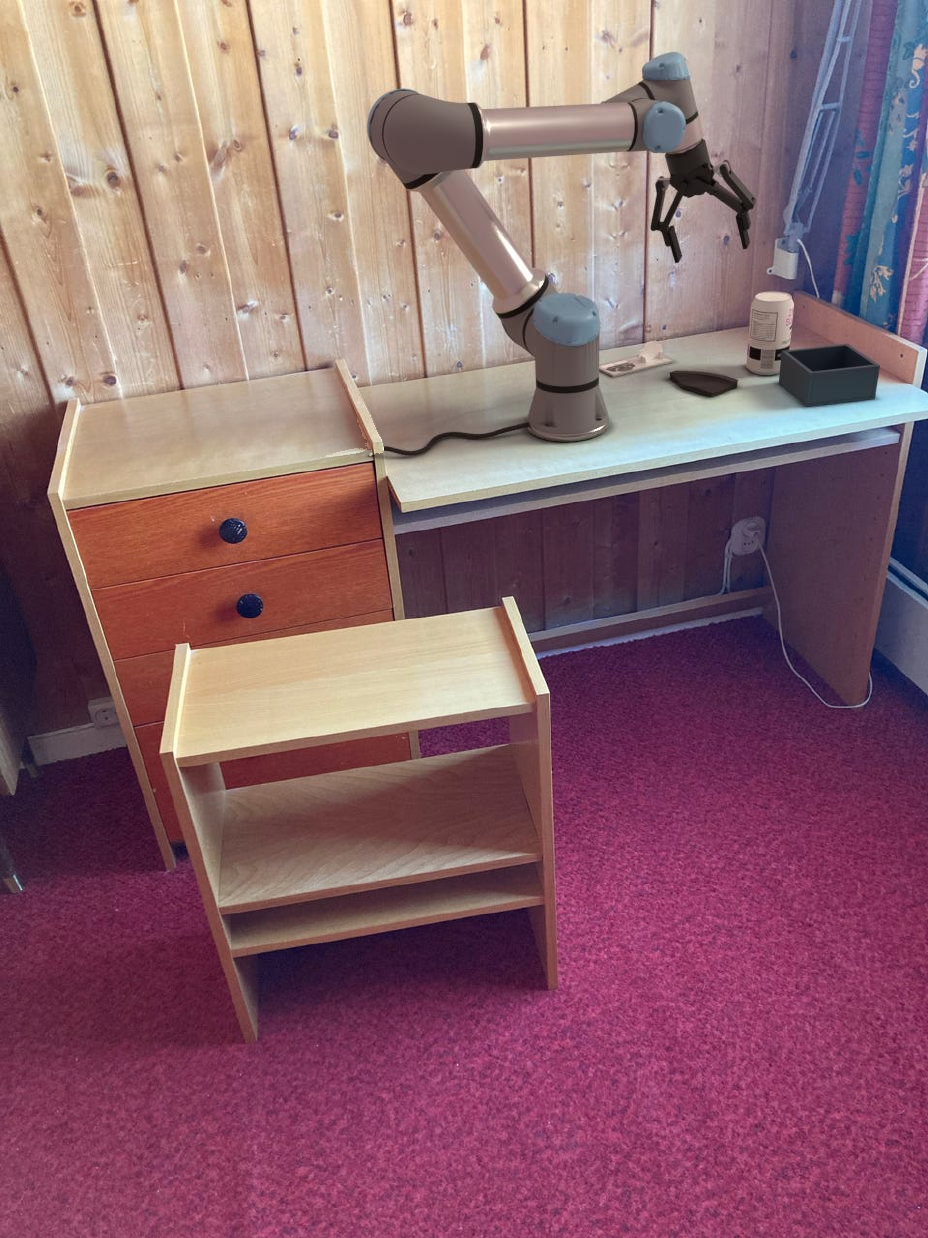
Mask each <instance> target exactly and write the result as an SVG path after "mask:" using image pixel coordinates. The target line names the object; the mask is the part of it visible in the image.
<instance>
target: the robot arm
mask: <svg viewBox="0 0 928 1238" xmlns="http://www.w3.org/2000/svg"><path fill="white" fill-rule="evenodd" d="M641 74H642V75H641V78H642V80H641V81H639V82H638V83H636V84H635V85H633V86H630V87H629V88H626V89H624V90H623V91H621V92H619V93H618V94H615V95H614V96H612V97H610V98H607V99H605V100H603V101H602V100H601V102H600V103H585V104H561V105H560V104H559V105H541V106H521V107H518V106H517V107H501V108H500V107H499V108H482V107H481V106H480V104H479V103H477V102H455V101H449V100H443V99H439V98H436V97H433V96H429V95H426V94H422V93H420V92H418V91H416V90H415V89H411V88H398V89H393V90H390V91H387V92H386V93H384V94H382V95H381V96H380V97H378V98H377V100H376V101H375V102H374V103H373V105H372V107H371V108H370V110H369V113H368V116H367V123H366V132H367V133H366V134H367V137H368V141H369V143H370V146H371V148H372V150H373V151H374V153H375V154H376V155H377V156H378V157H379V158H380V159H381V160H383V161H385V162H386V163H387V165H388V166H389V168H390V169H391V170H392V172H393V174H395V176H396V177H397V179H398V180H399V182H401V184H402V185H403V186H404V188H405V189H406V190H407V191H408V192H414V193H418V194H420V196H421V197H422V198H423V199H424V201H425V203H426V205H428V207H429V208H430V210H432V213H434V215H435V216H436V218H437V219H438V221H439V222H440V223H441V225H442V226H443V227H444V229H445V231H446V232H447V233H448V234H449V236H450V237H451V239H452V240H453V242H454V243H455V244H456V246H457V247H458V249H459V250H460V252H461V253H462V254H463V256H464V257H465V259H466V260H467V261H468V263H469V264H470V265H471V267H472V268H473V270H474V271H475V272H476V274H477V275H478V277H479V278H480V279H481V280H482V282H483V284H484V285H485V286H486V288H487V289H488V290H489V293H491V295H492V296H493V299H492V302H491V303H492V304H491V308H492V310H493V312H494V313H495V314H496V316H497V318H498V319H499V320H500V322H501V326H502V328H503V330H504V332H505V334H506V336H508V338H509V339H510V340H511V341H512V342H513V343H514V344H516V345H517V346H519V347H521V348H522V349H523V350H524V351H526V352H527V353H528V354H530V355H531V356H532V357H533V358H534V365H535V366H534V367H535V368H534V369H535V389H534V390H535V391H534V394H533V396H532V399H531V403H530V407H529V410H528V414H527V421H526V422H522V423H518V424H515V425H510V426H505V427H502V428H499V429H496V430H492V431H488V432H482V433H470V432H462V431H446V432H442V433H439V434H436V435H435V436H434V437H432V438H431V439H430V441H429V442H428V443H427V444H426V445H425V446H423V447H422V448H419V449H415V450H407V449H401V448H397V447H394V446H387V445H383V446H384V451H383V452H388V453H393V454H397V455H401V456H405V457H414V456H418V455H423V454H424V453H426V452H428V451H429V450H430V449H431V448H432V447H433V446H434V445H435V443H436V442H438V441H439V440H443V439H445V438H453V437H454V438H457V437H458V438H464V439H472V440H473V439H474V440H477V439H478V440H479V439H481V440H482V439H488V438H492V437H496V436H499V435H502V434H506V433H509V432H513V431H517V430H522V429H525V428H527V430H528V433H530V434H532V435H533V436H534V437H537V438H539V439H542V440H546V441H550V442H551V441H552V442H560V443H561V442H563V443H564V442H565V443H567V442H579V441H585V440H589V439H593V438H595V437H598V436H600V435H602V434H604V433H605V432H606V431H607V430H608V429H609V424H610V418H609V412H608V409H607V406H606V403H605V400H604V396H603V394H602V391H601V388H600V370H599V366H600V335H601V334H600V331H601V320H600V311H599V308H598V305H597V304H596V302H594V301H593V300H592V299H591V298H589V297H587V296H586V295H585V296H584V295H581V294H580V295H576V293H572V292H571V293H570V292H559V291H558V290H557V289H556V287H555V286H554V285H553V283H552V282H551V279H550V278H549V277H548V275H547V273H545V271H544V270H543V269H541V268H538V267H537V268H536V267H531V265H530V263H528V261H527V259H526V258H525V256H524V255H523V253H522V252H521V250H520V248H518V246H517V245H516V243H515V242H514V240H513V239H512V237H511V235H510V234H509V232H508V231H507V230H506V228H505V227H504V225H503V224H502V222H501V221H500V219H499V218H498V216H497V215H496V213H495V212H494V210H493V209H492V207H491V206H490V204H489V203H488V201H487V200H486V199H485V197H484V196H483V194H482V192H481V191H480V189H479V188H478V186H477V185H476V184H475V182H474V180H473V179H472V178H471V176H470V174H469V173H468V172H467V170H473V169H475V170H476V169H479V168H480V167H481V166H482V165H483V164H484V162H490V161H491V162H492V161H504V160H505V161H506V160H520V159H535V158H549V157H550V158H551V157H564V156H580V155H593V154H594V155H595V154H609V153H611V154H612V153H633V152H635V153H636V152H650V153H653V154H664V158H665V163H666V165H667V170H668V173H669V177H665V176H663V175H660V176H659V177H658V178H657V180H656V181H655V183H654V185H655V192H656V195H655V200H654V205H653V206H654V207H653V211H652V215H651V223H650V228H649V229H650V231H651V232H656V231H657V232H660V233H661V235H662V238H663V242H664V245H665V247H666V248H669V247H670V250H671V253H672V257H673V260H674V264H679V263H680V261H681V259H682V258H683V254H682V250H681V247H680V242H679V240H678V239H679V238H678V236H677V232H676V229H675V225H674V224H673V225H670V224H671V222H672V220H673V218H674V216H675V213H676V212H677V210H678V207H679V205H680V203H681V202H682V200H683V197H685V198H687V199H690V198H694V197H695V196H702V195H704V194H705V193H707V194H708V195H710V196H714V197H715V198H716V199H717V200H719V201H720V202H722V203H723V204H724V205H726V206H727V207H729V208H730V209H731V210H733V211H734V212H736V215H735V221H736V225H737V229H738V235H739V238H740V243H741V246H742V250H747V249H748V248H749V246H750V243H751V240H750V236H749V232H748V230H750V229H751V227H752V222H751V221H752V220H751V218H750V213H749V211H750V210H751V211H752V210H753V209H754V208H755V205H756V203H757V198H756V197H755V195H754V194H753V193H752V192H751V191H750V189H748V187H747V186H746V185H745V184H744V182H742V180H741V179H740V178H739V177H738V175H737V174H736V173H735V172H734V171H733V169H732V167H731V164H730V161H729V160H728V159H723V160H722V162H721V163H719V164H715V165H713V164H712V162H711V158H710V155H709V154H710V153H709V150H708V146H707V142H706V140H705V139H704V138H703V137H704V136H705V135H704V131H703V127H702V121H701V118H700V114H699V110H698V107H697V102H696V99H695V95H694V90H693V85H692V81H691V75H690V73H689V69H688V66H687V62H686V60H685V58H684V55H683V54H682V53H681V52H678V51H668V52H665V53H662V54H660V55H657V56H655V57H653V58H650V60H648V62H646V63H644V64H643V65H642V67H641ZM715 174H716V175H718V177H720V178H722V179H723V181H724V182H725V184H726V185H727V186H728V187H729V188H730V189H731V191H730V190H728V189H727V188H726V187H724V186H723V185H721V184H720V182H719V180H716V178H714V176H715ZM669 186H671V187H672V188H673V189H674V190H675V191H676V194H675V196H674V198H673V200H672V203H671V204H670V207H669V209H668V211H667V212H666V215H665V217H664V220H663V221H661V219H662V213H663V209H664V204H665V203H664V202H665V197H666V193H667V190H668V189H669V188H670V187H669ZM732 192H733V193H732Z"/></svg>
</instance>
